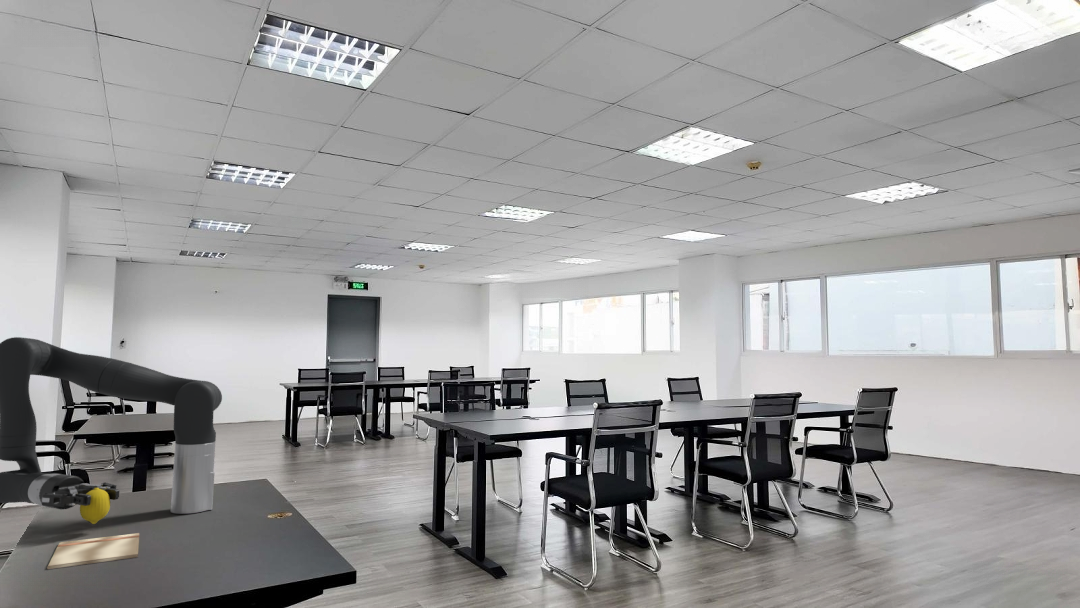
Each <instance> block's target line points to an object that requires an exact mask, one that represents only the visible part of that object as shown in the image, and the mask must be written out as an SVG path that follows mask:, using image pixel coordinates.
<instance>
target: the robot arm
mask: <svg viewBox="0 0 1080 608" xmlns="http://www.w3.org/2000/svg"><path fill="white" fill-rule="evenodd" d="M31 376H43V377H48V378H54V379H60V380H64V381H68V382H71V383H73V384H74V385H77V386H79V387H81V388H83V389H86V390H88V391H91V392H94V393H97V394H101V395H105V396H109V397H114V398H117V399H118V398H119V399H125V400H132V401H133V400H135V401H144V402H145V401H146V402H158V403H163V404H168V405H170V406H174V407H173V433H174V437H175V442H174V443H175V444H174V455H173V456H174V457H173V471H172V486H171V501H170V513H172V514H183V515H184V514H196V513H200V512H205V511H211V510H213V502H214V487H215V456H216V455H215V454H216V453H215V452H216V442H217V441H216V440H217V439H216V438H217V432H216V430H215V428H214V411H216V410H217V409H218V408H219V407H220V406H221V404H222V400H223V395H222V391H221V390H220V388H219V387H218V386H217V385H216V384H215V383H213V382H210V381H208V380H198V379H191V378H186V377H184V378H183V377H179V376H173V375H170V374H167V373H163V372H160V371H157V370H155V369H152V368H149V367H147V366H142V365H139V364H134V363H132V362H128V361H124V360H119V359H116V358H112V357H106V356H102V355H101V356H100V355H94V354H93V355H92V354H85V353H80V352H75V351H71V350H68V349H65V348H63V347H60V346H56V345H53V344H50V343H48V342H45V341H44V340H40V339H37V338H29V337H19V336H18V337H17V336H14V337H9V338H7V339H4V340H3V341H1V342H0V460H1V461H5V462H16V463H17V465H18V466H19V469H15V470H8V471H1V472H0V504H1V503H2V504H10V503H11V504H14V503H15V504H16V503H27V504H32V505H37V506H40V507H44V508H51V509H56V510H69V509H71V508H73V507H75V506H77V505H78V506H80V505H84V506H87V505H90V503H91V495H87V494H86V493H88V492H89V491H91V490H93V489H94V488H99V489H102V490H104V491H106V492H107V493H108V495H109V497H110V501H112V500H113V501H115V500H118V499H119V498H120V490H119V489H117V485H116V484H113V483H109V482H102V483H100V484H90V483H87V482H86V483H85V482H84V480H83V479H82V478H81V477H79V476H76V475H71V474H62V473H45V472H42V470H41V467H40V464H39V459H38V455H37V450H36V447H37V445H36V443H37V421H36V420H37V419H36V415H35V412H34V411H35V410H34V409H33V406H32V401H31V397H30V379H31V378H30V377H31Z"/></svg>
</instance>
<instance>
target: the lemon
mask: <svg viewBox="0 0 1080 608" xmlns="http://www.w3.org/2000/svg"><path fill="white" fill-rule="evenodd" d="M86 494H87V495H91V503H90V505H87V506H84V505H79V514H80V516H81V518H82V519H83V520H84V521H86V522H90V523H91V524H92V525H95V524H97V523H98V522H99V521H100V520H102V519H104V518H105V517H106V516H107V515H108V513H109V511H110V509H111V499H110V497H109V495H108V493H107V492H106V491H104V490H102V489H99V488H94V489H93V490H91V491H89V492H88V493H86Z"/></svg>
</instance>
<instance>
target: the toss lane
mask: <svg viewBox="0 0 1080 608" xmlns="http://www.w3.org/2000/svg"><path fill="white" fill-rule="evenodd" d="M139 546H140V532H137V533H129V534H127V533H126V534H122V535H111V536H104V537H95V538H87V539H86V538H85V539H79V540H78V539H77V540H71V541H70V540H69V541H61V542H60V541H59V543H58V545H57V547H56V548H55V550H54V553H53V555H52V557H51V559H50V560H49V563H48V565H47V566H46V570H53V569H60V568H68V567H77V566H83V565H89V564H90V565H91V564H98V563H106V562H112V561H120V560H125V559H127V560H128V559H134V558H138V557H139Z"/></svg>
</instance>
